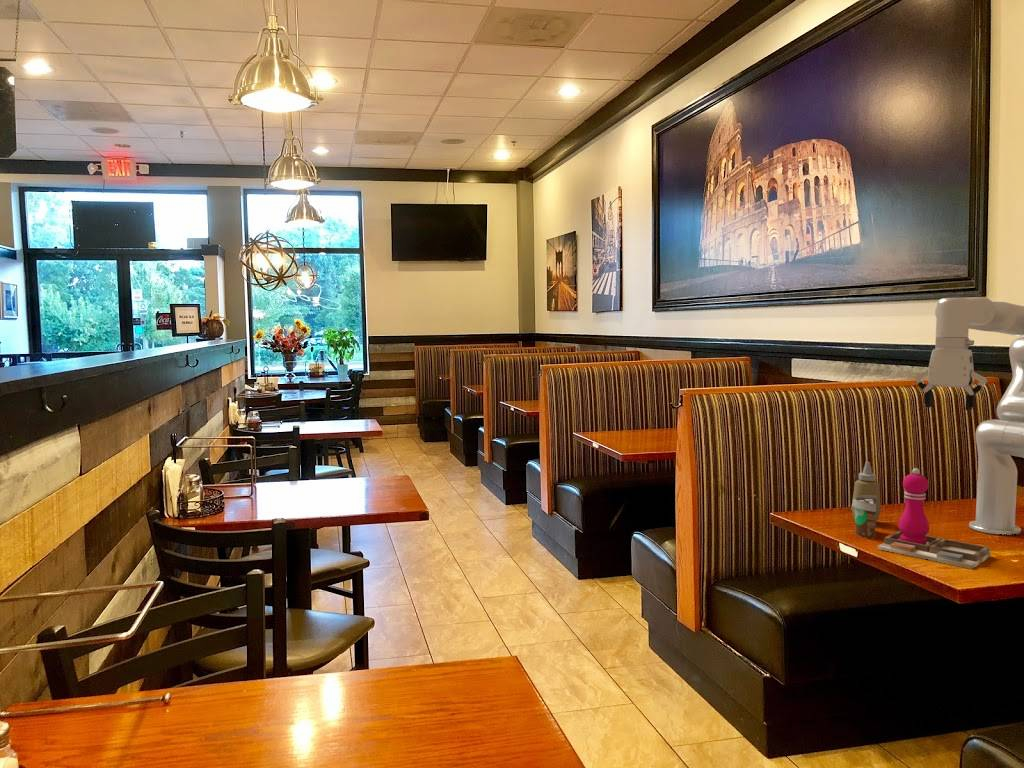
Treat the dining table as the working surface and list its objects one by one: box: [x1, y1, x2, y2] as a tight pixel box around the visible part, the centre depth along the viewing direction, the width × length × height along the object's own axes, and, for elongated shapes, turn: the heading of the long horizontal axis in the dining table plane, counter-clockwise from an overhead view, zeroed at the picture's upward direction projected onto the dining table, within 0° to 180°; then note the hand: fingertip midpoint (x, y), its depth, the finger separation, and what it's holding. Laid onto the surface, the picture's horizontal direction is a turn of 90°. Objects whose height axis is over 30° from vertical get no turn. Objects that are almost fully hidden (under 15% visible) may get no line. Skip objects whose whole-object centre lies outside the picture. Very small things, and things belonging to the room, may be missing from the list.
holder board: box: [877, 530, 992, 570], centre depth 198 cm, size 15×22×2 cm
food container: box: [851, 495, 877, 539], centre depth 216 cm, size 12×6×10 cm, turn 154°
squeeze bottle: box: [850, 461, 882, 523], centre depth 229 cm, size 8×8×18 cm
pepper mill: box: [897, 467, 930, 545], centre depth 203 cm, size 7×7×20 cm
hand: (948, 408), depth 206 cm, fingers open, 9 cm apart
